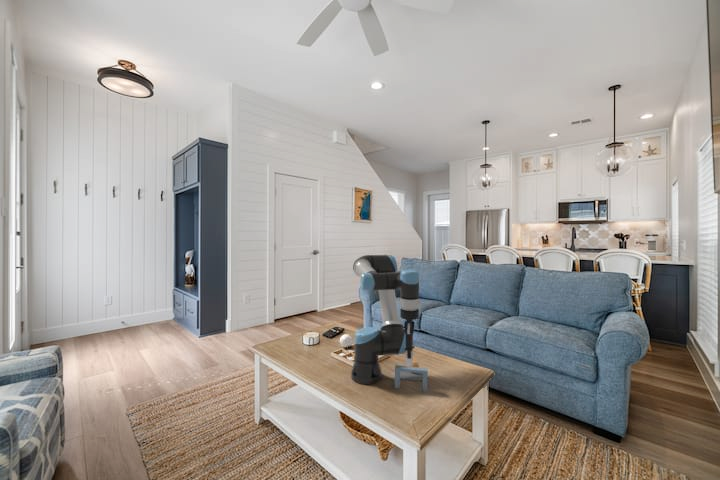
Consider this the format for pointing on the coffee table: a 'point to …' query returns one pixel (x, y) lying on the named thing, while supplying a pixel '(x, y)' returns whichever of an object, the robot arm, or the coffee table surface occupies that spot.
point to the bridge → (410, 369)
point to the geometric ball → (346, 340)
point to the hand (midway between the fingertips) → (409, 364)
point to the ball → (414, 364)
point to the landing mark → (411, 376)
